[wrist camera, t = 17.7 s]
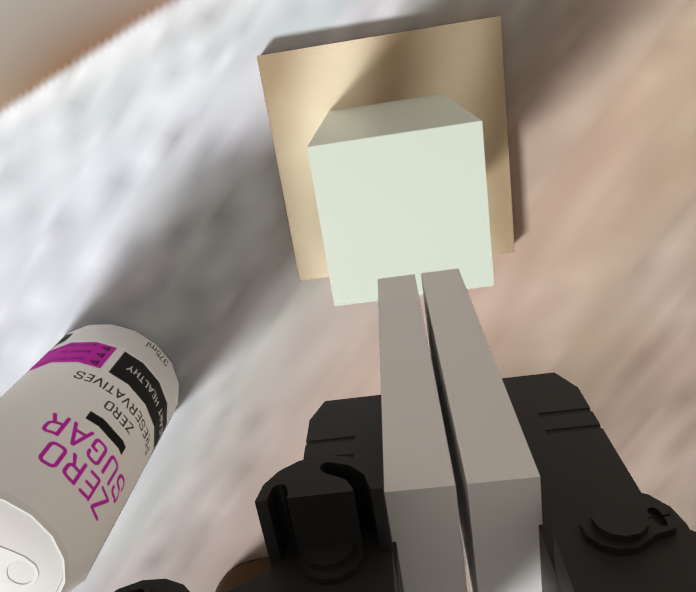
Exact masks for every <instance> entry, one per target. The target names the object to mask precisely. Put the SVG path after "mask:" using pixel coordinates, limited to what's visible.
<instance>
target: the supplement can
mask: <svg viewBox="0 0 696 592" xmlns="http://www.w3.org/2000/svg"><path fill="white" fill-rule="evenodd" d="M178 394H179V382H178V379H177V377H176V374H175V371H174V368H173V366H172V363H171V362H170V360H169V359H168V358H167V357H166V355H165V354H164V353H163V352H162V351H161V349H160V348H159V347H158V346H157V345H156V344H155V343H153V342H152V341H150V340H149V339H147V338H146V337H144V336H143V335H141V334H140V333H138V332H137V331H134V330H130V329H127V328H124V327H120V326H117V325H113V324H102V325H87V326H84V327H82V328H79V329H77V330H74V331H72V332H69V333H68V334H67V335H65V336H64V337H63V338H62V339H61V340H60V341H59V342H58V343H57V344H56V345H55V346H54V347H53V348H52V349H51V350H50V351H49V352H48V353H47V354H46V355H45V356H44V357H43V358H41V359H40V360H39V361H38V362H37V363H36V364H35V365H34V366H33V367H32V368H31V369H30V370H29V371H28V372H27V373H26V374H25V375H24V376H23V377H22V378H21V379H20V380H18V381H17V382H16V383H15V384H14V385H13V386H12V387H11V388H10V389H9V390H8V391H7V392H6V393H5V394H4V395H3V396H2V397H1V398H0V592H70V591H72V590H73V589H74V588H75V587H77V586H78V585H79V584H80V583H82V582H83V581H84V580H85V579H86V577H87V575H88V573H89V571H90V569H91V568H92V566H93V564H94V562H95V560H96V558H97V556H98V554H99V552H100V551H101V549H102V547H103V545H104V543H105V541H106V539H107V537H108V536H109V534H110V532H111V530H112V528H113V526H114V524H115V522H116V521H117V519H118V517H119V515H120V513H121V511H122V509H123V507H124V506H125V504H126V502H127V500H128V498H129V496H130V494H131V492H132V490H133V489H134V487H135V485H136V483H137V481H138V479H139V477H140V475H141V474H142V472H143V470H144V468H145V466H146V464H147V462H148V460H149V459H150V457H151V455H152V453H153V451H154V449H155V447H156V445H157V444H158V442H159V440H160V438H161V436H162V434H163V432H164V430H165V428H166V427H167V425H168V423H169V421H170V419H171V417H172V415H173V413H174V411H175V409H176V407H177V405H178Z"/></svg>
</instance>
